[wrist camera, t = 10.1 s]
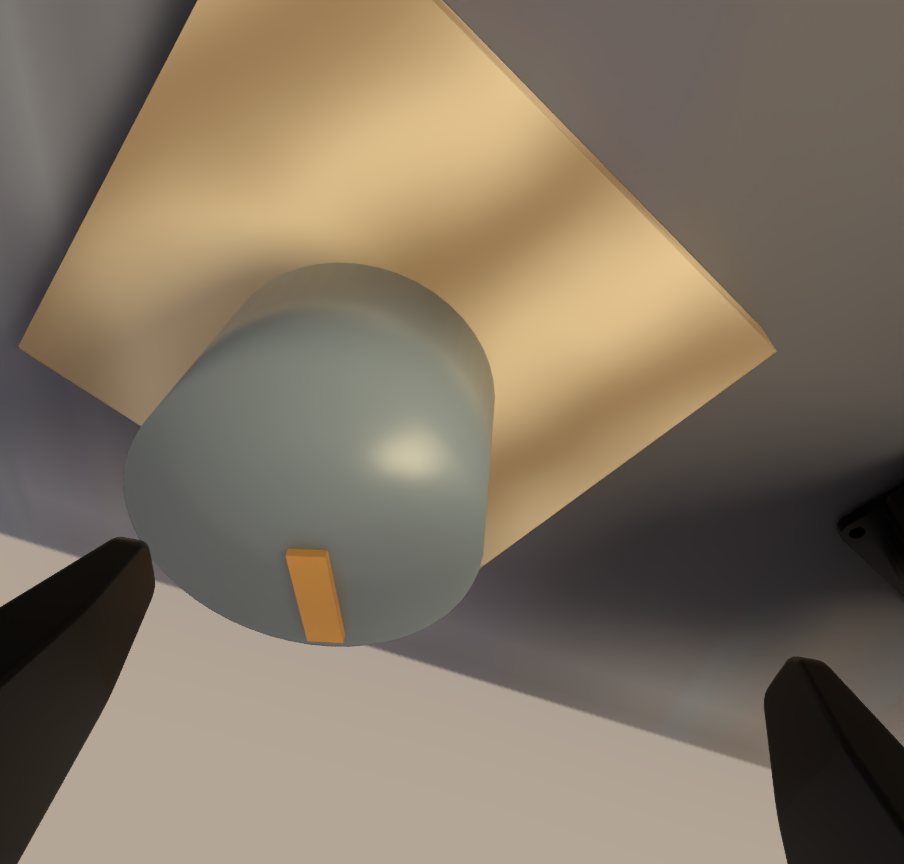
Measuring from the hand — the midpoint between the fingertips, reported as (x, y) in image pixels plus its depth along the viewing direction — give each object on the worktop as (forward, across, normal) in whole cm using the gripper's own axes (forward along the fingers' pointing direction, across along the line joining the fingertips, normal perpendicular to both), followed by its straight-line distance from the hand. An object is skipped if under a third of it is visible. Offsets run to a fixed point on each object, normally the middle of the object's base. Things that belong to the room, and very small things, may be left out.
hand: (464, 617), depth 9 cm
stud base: (+12, +3, +2) cm, 13 cm away
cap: (+8, +3, +2) cm, 9 cm away
